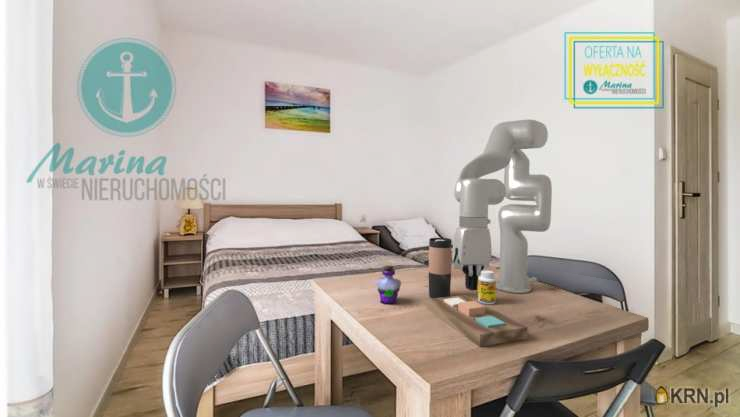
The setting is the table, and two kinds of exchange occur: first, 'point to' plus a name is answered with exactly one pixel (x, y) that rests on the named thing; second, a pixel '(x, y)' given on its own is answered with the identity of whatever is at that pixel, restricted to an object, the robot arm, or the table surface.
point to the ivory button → (453, 301)
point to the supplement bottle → (487, 287)
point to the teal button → (489, 321)
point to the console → (475, 329)
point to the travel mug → (439, 267)
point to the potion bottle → (388, 286)
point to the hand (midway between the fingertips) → (471, 289)
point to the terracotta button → (471, 308)
